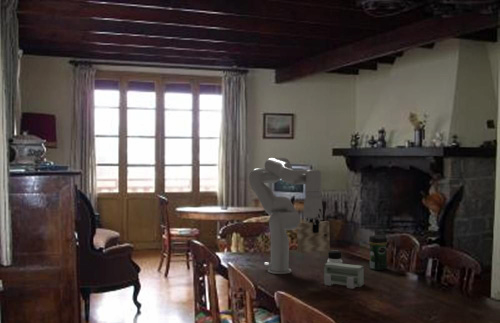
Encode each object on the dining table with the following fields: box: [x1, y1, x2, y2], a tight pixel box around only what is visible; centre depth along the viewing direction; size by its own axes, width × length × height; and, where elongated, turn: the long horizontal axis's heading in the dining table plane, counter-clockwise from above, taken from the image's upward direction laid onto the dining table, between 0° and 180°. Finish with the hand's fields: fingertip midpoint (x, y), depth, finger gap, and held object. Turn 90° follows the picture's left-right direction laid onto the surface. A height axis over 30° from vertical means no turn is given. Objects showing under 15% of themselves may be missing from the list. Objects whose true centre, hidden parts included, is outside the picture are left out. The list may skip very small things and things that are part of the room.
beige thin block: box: [296, 220, 331, 254], centre depth 260 cm, size 18×4×14 cm, turn 121°
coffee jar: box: [368, 234, 388, 271], centre depth 292 cm, size 10×8×19 cm
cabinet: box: [323, 262, 365, 290], centre depth 256 cm, size 18×11×9 cm, turn 62°
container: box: [326, 250, 343, 264], centre depth 274 cm, size 8×8×13 cm
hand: (313, 231), depth 260 cm, fingers closed on beige thin block, 2 cm apart
